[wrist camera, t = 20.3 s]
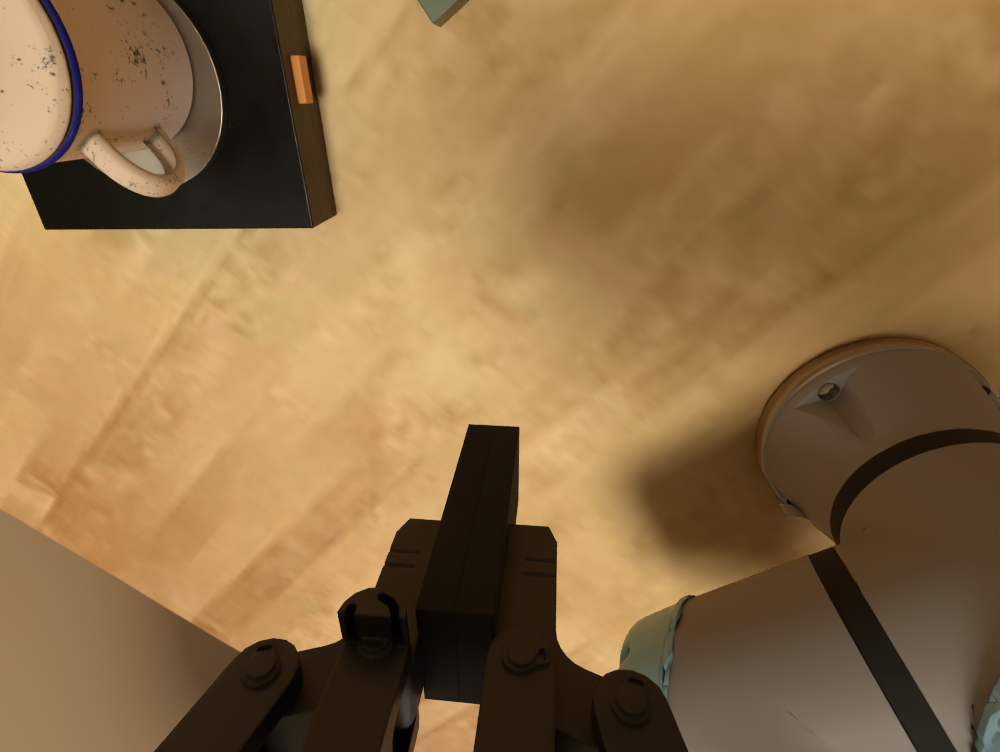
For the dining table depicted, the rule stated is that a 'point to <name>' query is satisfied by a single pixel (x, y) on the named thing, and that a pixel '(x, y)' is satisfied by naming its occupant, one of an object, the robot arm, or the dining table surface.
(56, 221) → the cup warmer
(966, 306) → the dining table surface
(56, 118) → the teacup with lid
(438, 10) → the box
